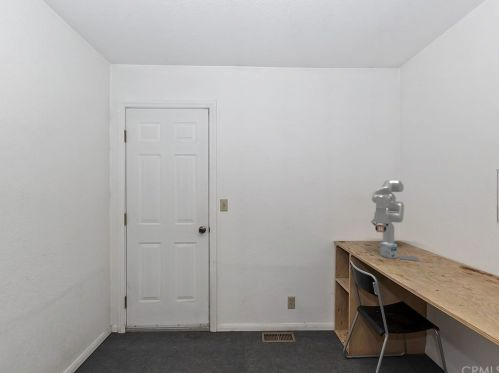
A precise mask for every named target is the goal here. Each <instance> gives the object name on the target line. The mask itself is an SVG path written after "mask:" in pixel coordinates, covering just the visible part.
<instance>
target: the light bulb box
mask: <svg viewBox="0 0 499 373" xmlns="http://www.w3.org/2000/svg"><path fill="white" fill-rule="evenodd" d="M379 244H380V245H379V246H380V247H379V248H380V250H379V252H380V253H379V256H381V257H384V258H387V259H391V260H392V259H398V244H396V243H394V244H392V243H388V242H383V241H382V242H381V241H380V243H379Z"/></svg>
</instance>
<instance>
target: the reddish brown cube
mask: <svg viewBox="0 0 499 373" xmlns="http://www.w3.org/2000/svg"><path fill="white" fill-rule="evenodd" d="M376 233H382V234H383V233H384V225H383V224H377V231H376Z"/></svg>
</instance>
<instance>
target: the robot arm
mask: <svg viewBox="0 0 499 373" xmlns="http://www.w3.org/2000/svg"><path fill="white" fill-rule="evenodd" d="M404 188H405V187H404V184H403V183H402V181H401V180H398V179H387V180H385V181H384V182H383V184H382V185H381V188H378V189H377V190H375V191H374V192H373V194H372V196H371V200H372V202H373V203H374V204H375V211H374V218H373V219H372V220H371V221H370V223H371V224H372V225H373V226H374V228H375V231H376V232H377V225H378V224H382V225H384V233H383V232H382V242H388V243H392V244H395V225H394V223H403V221H404V213H405V205H404V203H403V201H396V199H397V197H396V195H395V194H394V193H401V192H403V191H404Z"/></svg>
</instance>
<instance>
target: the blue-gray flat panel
mask: <svg viewBox="0 0 499 373" xmlns="http://www.w3.org/2000/svg"><path fill="white" fill-rule="evenodd" d="M399 259H400V260H404V261H412V262H413V261H414V262H419V259H418V257H417V256H413V255H402V254H399Z"/></svg>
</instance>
